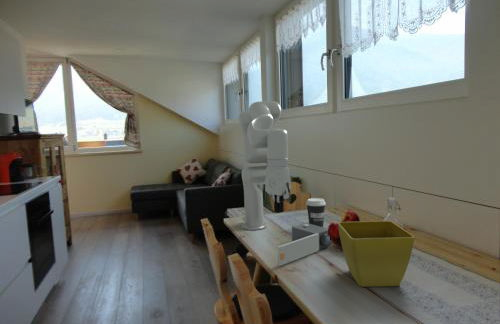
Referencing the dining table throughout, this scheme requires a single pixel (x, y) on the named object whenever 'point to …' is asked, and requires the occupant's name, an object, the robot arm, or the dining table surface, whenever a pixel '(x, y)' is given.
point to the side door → (298, 249)
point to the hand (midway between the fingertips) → (278, 212)
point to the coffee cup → (316, 211)
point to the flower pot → (376, 251)
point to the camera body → (311, 233)
